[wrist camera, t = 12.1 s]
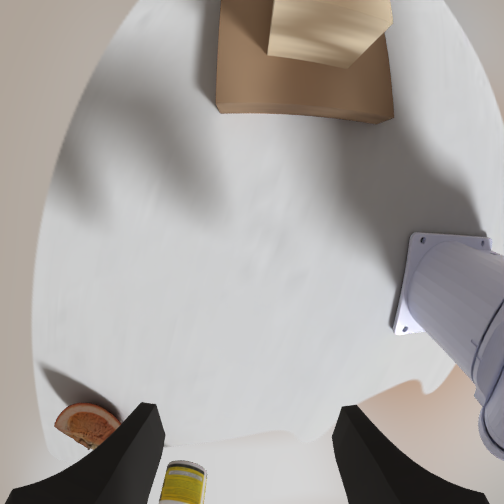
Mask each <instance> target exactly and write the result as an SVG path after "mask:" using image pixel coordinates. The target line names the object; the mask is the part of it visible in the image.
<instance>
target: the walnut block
mask: <svg viewBox="0 0 504 504" xmlns="http://www.w3.org/2000/svg"><path fill="white" fill-rule="evenodd" d="M272 8H273V0H221V8H220V22H219V38H218V56H217V78H216V105H217V107H218V109H219V111H220V113H221V114H224V113H265V114H289V115H304V116H316V117H327V118H336V119H344V120H352V121H359V122H365V123H371V124H379V123H381V122H384V121H387V120H389V119H392V118H394V109H393V95H392V84H391V74H390V66H389V58H388V52H387V45H386V39H385V33H383V34H382V35H381V36H380V37H379V38H378V39H377V40H376V41H375V42H374V43H373V44H372V45H371V46H370V47H369V48H368V49H367V50H366V51H365V52H364V53H363V54H362V55H361V56H360V57H359V58H358V59H357V60H356V61H355V62H354V63H353V64H352V65H351V66H350V67H349V68H348V69H343V68H339V67H335V66H330V65H326V64H321V63H316V62H310V61H305V60H299V59H292V58H285V57H278V56H269V55H267V53H268V44H269V35H270V26H271V17H272Z"/></svg>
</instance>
